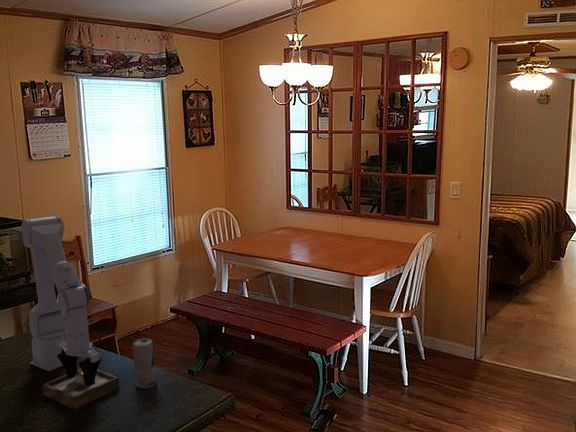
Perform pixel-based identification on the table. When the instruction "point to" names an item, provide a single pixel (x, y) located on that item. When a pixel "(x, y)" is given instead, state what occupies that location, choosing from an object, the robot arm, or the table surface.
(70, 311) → the robot arm
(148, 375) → the energy drink
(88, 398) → the bore box
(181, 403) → the table surface
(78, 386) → the peg
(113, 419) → the table surface
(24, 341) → the table surface
